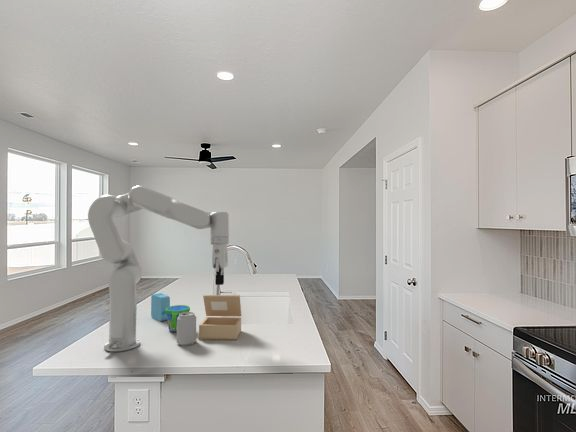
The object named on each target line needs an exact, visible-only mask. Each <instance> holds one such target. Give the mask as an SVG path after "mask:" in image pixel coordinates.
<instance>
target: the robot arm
mask: <svg viewBox="0 0 576 432" xmlns="http://www.w3.org/2000/svg"><path fill="white" fill-rule="evenodd" d="M141 210H144V211H145V210H146V211H148V212H150V213H153V214H155V215H158V216H161V217H163V218H166V219H170V220H174V221H175V222H179V223H182V224H184V225H187V226H189V227H192V228H194V229H196V230H205V229H210V245H211V246H212V252H211V253H212V256H211V258H212V259H211V260H212V261H211V262H212V266H211V267H212V268H213V269H215V270H214V271H215V277H214V278H215V279H214V281H215V286H216V285H217V286H219V285H220V286H223V285H224V283H225V278H224V277H225V274H224V273H225V272H224V271H225V269H226V268H227V267H228V265H229V255H228V254H229V253H228V245H229V242H230V241H229V239H230V238H229V236H230V234H229V231H230V229H229V228H230V227H229V226H230V225H229V224H230V223H229V222H230V221H229V217H230V216H229V213H228V212H227V211H213V212H208V211H205V210H201V209H199V208H196V207H195V206H191V205H190V204H186V203H184V202H182V201H180V200H178V199H176V198H174V197H172V196H169V195H166V194H164V193H162V192H159V191H156V190H154V189H151V188H149V187H147V186H143V185H136V186H133V187H132V188H131V189H129V192H128V193H125V194H121V195H118V196H117V195H111V194H103V195H101V196H99V197H97V198H96V199H95V200H94V201H93V202H92V203H91V205H90V207H89V209H88V213H87V221H88V224H89V227H90V230H91V232H92V234H93V237H94V239H95V242H96V245H97V248H98V250H99V252H100V255H101V258H102V260H103V261H104V262H105V263H107V264H109V265H113V268H114V269H113V270H112V272H111V273H110V274H109V278H108V290H109V291H108V292H109V322H108V323H109V327H108V330H109V331H108V341H107V342H106V343H105V344H104V346H103V349H104V350H105V351H106V352H107V351H108V352H110V353H111V352H112V353H114V352H117V353H118V352H124V351H129V350H132V349H135V348H137V347H139V346H140V344H141V340H140V339H139V338H137V305H138V304H137V303H138V301H137V297H138V296H137V284H138V283H139V281H141V279H142V277H143V276H142V275H143V272H142V268H141V265H140V263H139V260H138V258H137V256H136V253H135V250H134V248H133V246H132V245H131V244H130V243H129V242H128V241H127V240H124V239H122V237H121V234H120V233H119V229H118V227H117V226H116V223H115V221H114V218H119V217H122V216H127V215H130V214H132V213H135V212H139V211H141Z"/></svg>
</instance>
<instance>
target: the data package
mask: <svg viewBox="0 0 576 432" xmlns="http://www.w3.org/2000/svg"><path fill="white" fill-rule="evenodd" d="M150 298H151V299H150V316H151V318H153V319H154V320H156V321H158V322H163V321H164V322H165V321H168V320H167V313H166V308H167V307H170V306H171V297H170V296H169V295H167V294H164V293H161V292H160V293H153V294H152V295H151V297H150Z"/></svg>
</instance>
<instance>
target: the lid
mask: <svg viewBox="0 0 576 432" xmlns="http://www.w3.org/2000/svg"><path fill="white" fill-rule="evenodd" d="M202 297H203V303H204V304H203V305H204V310H205V316H206V317H242V305H241V304H242V303H241V296H240V295H237V294H236V295H232V294H229V295H226V294H225V295H223V294H219V295H218V294H214V295H213V294H203V296H202Z"/></svg>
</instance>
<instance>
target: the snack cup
mask: <svg viewBox="0 0 576 432" xmlns="http://www.w3.org/2000/svg"><path fill="white" fill-rule="evenodd" d="M183 312H191V307H190V306H189V305H185V304H178V305H176V304H175V305H170V307H167V308H166V313H167V320H166V321H167V327H168V331H169V332H171V333H177V318H178V317H179V314H180V313H183Z"/></svg>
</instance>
